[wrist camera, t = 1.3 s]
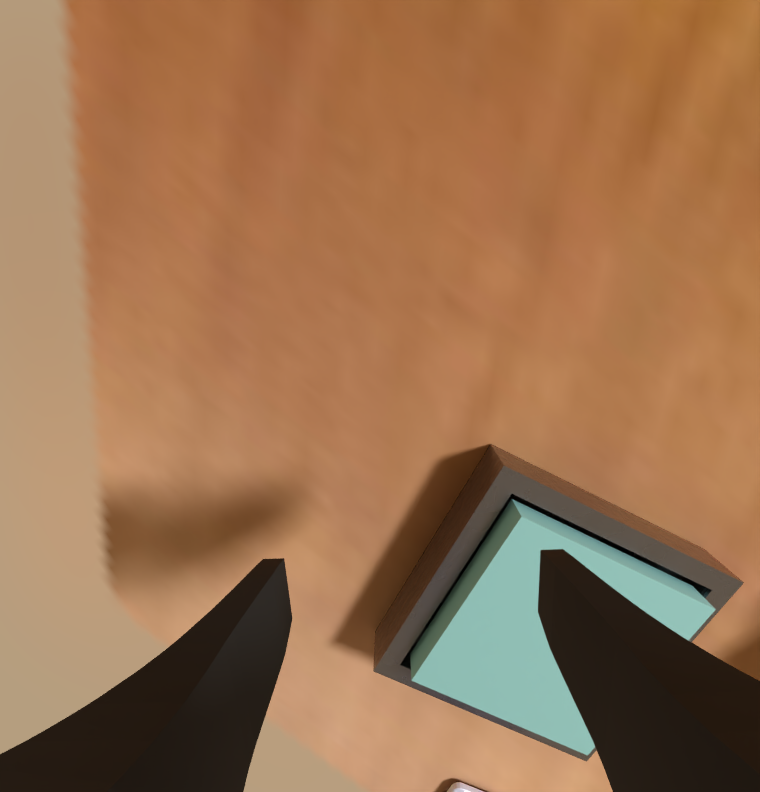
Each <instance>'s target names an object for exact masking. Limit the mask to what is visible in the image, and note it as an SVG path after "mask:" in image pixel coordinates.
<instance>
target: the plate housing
mask: <svg viewBox="0 0 760 792" xmlns="http://www.w3.org/2000/svg"><path fill="white" fill-rule="evenodd" d="M511 499H513V500H515V501H517V502H519V503H521V504H523V505H525V506H528V507H530V508H532V509H534V510H536V511H538V512H540V513H542V514H544V515H546V516H548V517H550V518H552V519H555V520H557V521H559V522H561V523H563V524H565V525H567V526H569V527H571V528H573V529H575V530H577V531H579V532H582V533H584V534H586V535H588V536H590V537H592V538H594V539H596V540H598V541H600V542H602V543H604V544H606V545H609V546H611V547H613V548H615V549H617V550H619V551H621V552H623V553H625V554H627V555H629V556H631V557H633V558H636V559H638V560H640V561H642V562H644V563H646V564H648V565H650V566H652V567H654V568H656V569H658V570H661V571H663V572H665V573H667V574H669V575H671V576H673V577H675V578H677V579H679V580H681V581H683V582H685V583H688V584H690V585H692V586H693V587H694V588H695V589H696V590H697V591H698V592H699V593H700V594H701V595H702V596H703V597H704V598H705V599H706V600H707V601H708V602H709V603H710V604H711V605H712V606H713V607H714V608H715V609H716V610H715V611H714V612H713V613H712V614H711V616H710V617H709V618H708V619H707V620H706V621H705V622H704V623H703V625H702V626H701V627H700V628H699V629H698V630H697V631H696V633H695V634H694V635H693V636H692V637H691V638H690V639H689V641H690V642H692V641H693V640H694V639H695V638H696V637H697V635H698V634H699V633H700V632H701V631H702V630H703V629H704V627H705V626H706V625H707V624H708V623H709V622H710V621H711V619H712V618H713V617H714V616H715V615H716V614H717V613H718V612H719V610H720V609H721V608H722V607H723V606H724V605H725V604H726V602H727V601H728V600H729V599H730V598H731V597H732V596H733V594H734V593H735V592H736V591H737V590H738V589H739V588H740V587H741V585H742V584H743V583H744V582H742V581H741V580H740V579H739V578H738V577H737V576H735V575H734V574H733V573H732V572H731V571H729V570H728V569H727V568H726V567H725V566H724V565H722V564H721V563H720V562H719V561H718V560H716V559H715V558H714V557H713V556H712V555H711V554H709V553H708V552H707V551H706V550H705V549H703V548H701V547H699V546H697V545H695V544H693V543H690V542H688V541H686V540H684V539H682V538H680V537H678V536H676V535H674V534H672V533H670V532H668V531H666V530H664V529H662V528H660V527H658V526H656V525H654V524H652V523H650V522H648V521H646V520H644V519H642V518H640V517H638V516H636V515H634V514H632V513H630V512H628V511H626V510H623V509H621V508H619V507H617V506H615V505H613V504H611V503H609V502H607V501H605V500H603V499H601V498H599V497H597V496H595V495H593V494H591V493H589V492H587V491H585V490H583V489H581V488H579V487H577V486H575V485H573V484H571V483H569V482H567V481H565V480H563V479H561V478H558V477H556V476H554V475H552V474H550V473H548V472H546V471H544V470H542V469H540V468H538V467H536V466H534V465H532V464H530V463H528V462H526V461H524V460H522V459H520V458H518V457H516V456H514V455H512V454H510V453H508V452H506V451H504V450H502V449H500V448H498V447H496V446H494V445H490V446H489V448H488V449H487V451H486V453H485V454H484V456H483V458H482V459H481V461H480V462H479V464H478V466H477V467H476V469H475V471H474V472H473V474H472V475H471V477H470V479H469V480H468V482H467V484H466V485H465V487H464V488H463V490H462V492H461V493H460V495H459V497H458V498H457V500H456V501H455V503H454V505H453V506H452V508H451V510H450V511H449V513H448V514H447V516H446V518H445V519H444V521H443V523H442V524H441V526H440V527H439V529H438V531H437V532H436V534H435V536H434V537H433V539H432V540H431V542H430V544H429V545H428V547H427V549H426V550H425V552H424V553H423V555H422V557H421V558H420V560H419V562H418V563H417V565H416V566H415V568H414V570H413V571H412V573H411V575H410V576H409V578H408V579H407V581H406V583H405V584H404V586H403V588H402V589H401V591H400V592H399V594H398V596H397V597H396V599H395V601H394V602H393V604H392V605H391V607H390V609H389V610H388V612H387V614H386V615H385V617H384V618H383V620H382V622H381V623H380V625H379V627H378V628H377V630H376V631H375V650H374V670H373V671H374V672H377V673H379V674H381V675H384V676H386V677H388V678H391V679H393V680H395V681H398V682H400V683H403V684H405V685H407V686H410V687H412V688H414V689H417V690H419V691H421V692H424V693H426V694H429V695H431V696H433V697H436V698H438V699H440V700H443V701H445V702H447V703H450V704H452V705H455V706H457V707H459V708H462V709H464V710H466V711H469V712H471V713H473V714H476V715H478V716H481V717H483V718H485V719H488V720H490V721H492V722H495V723H497V724H499V725H502V726H504V727H506V728H509V729H511V730H514V731H516V732H518V733H521V734H523V735H525V736H528V737H530V738H532V739H535V740H537V741H540V742H542V743H544V744H547V745H549V746H551V747H554V748H556V749H558V750H561V751H563V752H566V753H568V754H570V755H573V756H575V757H577V758H580V759H582V760H584V761H587V760H588V759H589V758H590V757H591V756H592V755H593V753H594V752H595V751H596V750H597V749H596V747H595V748H594V749H593V750H592V751H591V752H590V753H589V755H585V754H583V753H581V752H578V751H576V750H574V749H571V748H569V747H567V746H564V745H562V744H559V743H557V742H555V741H552V740H550V739H548V738H545V737H543V736H541V735H538V734H536V733H534V732H531V731H529V730H527V729H524V728H522V727H519V726H517V725H515V724H512V723H510V722H508V721H505V720H503V719H501V718H498V717H496V716H494V715H491V714H489V713H487V712H484V711H482V710H479V709H477V708H475V707H472V706H470V705H468V704H465V703H463V702H461V701H458V700H456V699H454V698H451V697H449V696H447V695H444V694H442V693H439V692H437V691H435V690H432V689H430V688H428V687H425V686H423V685H421V684H418V683H416V682H414V681H411V661H410V653H411V652H412V650H413V649H414V647H415V646H416V644H417V643H418V641H419V640H420V638H421V637H422V635H423V633H424V632H425V630H426V629H427V627H428V626H429V624H430V623H431V621H432V620H433V618H434V617H435V615H436V614H437V612H438V611H439V609H440V608H441V606H442V604H443V603H444V601H445V600H446V598H447V597H448V595H449V594H450V592H451V591H452V589H453V588H454V586H455V585H456V583H457V582H458V580H459V579H460V577H461V575H462V574H463V572H464V571H465V569H466V568H467V566H468V565H469V563H470V562H471V560H472V559H473V557H474V556H475V554H476V553H477V551H478V550H479V548H480V547H481V545H482V543H483V542H484V540H485V539H486V537H487V536H488V534H489V533H490V531H491V530H492V528H493V527H494V525H495V524H496V522H497V521H498V519H499V518H500V516H501V514H502V513H503V511H504V510H505V508H506V507H507V505H508V504H509V502H510V501H511Z"/></svg>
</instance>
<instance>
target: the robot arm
mask: <svg viewBox="0 0 760 792" xmlns="http://www.w3.org/2000/svg"><path fill="white" fill-rule="evenodd" d="M538 614H539V617H540V620H541V623H542V626H543V629H544V633H545V635H546V638H547V641H548V644H549V647H550V650H551V652H552V654H553V656H554V659H555V661H556V663H557V665H558V667H559V670H560V672H561V674H562V676H563V678H564V680H565V683H566V685H567V687H568V689H569V691H570V693H571V695H572V697H573V700H574V702H575V704H576V706H577V708H578V710H579V712H580V715H581V717H582V719H583V721H584V723H585V725H586V727H587V729H588V732H589V734H590V736H591V738H592V740H593V742H594V745H595V747H596V749H597V752H598V754H599V756H600V759H601V761H602V763H603V766H604V769H605V771H606V774H607V777H608V779H609V782H610V785H611V787H612V790H613V792H760V681H758V680H757V679H755V678H753V677H751V676H749V675H747V674H745V673H743V672H741V671H740V670H738V669H736V668H734V667H732V666H731V665H729V664H727V663H725V662H723V661H722V660H720V659H718V658H716V657H715V656H713V655H711V654H710V653H708V652H706V651H705V650H703V649H701V648H700V647H698V646H696V645H695V644H693V643H692V642H690V641H688V640H687V639H685V638H683V637H682V636H680V635H679V634H677V633H676V632H674V631H672V630H671V629H669V628H668V627H667V626H665V625H664V624H662V623H661V622H659V621H658V620H656V619H655V618H653V617H652V616H650V615H649V614H648V613H646V612H645V611H643V610H642V609H640V608H639V607H638V606H636V605H635V604H634V603H632V602H631V601H629V600H628V599H627V598H625V597H624V596H623V595H621V594H620V593H619V592H617V591H616V590H615V589H613V588H612V587H611V586H610V585H608V584H607V583H606V582H604V581H603V580H602V579H601V578H599V577H598V576H597V575H596V574H594V573H593V572H592V571H590V570H589V569H588V568H587V567H585V566H584V565H583V564H582V563H580V562H579V561H578V560H577V559H575V558H574V557H573V556H571V555H570V554H569V553H568V552H566V551H565V550H563V549H552V550H541V551H540V573H539V595H538ZM291 622H292V613H291V605H290V598H289V591H288V584H287V576H286V569H285V562H284V558H283V559H263V560H262V561H261V562H260V563H259V564H258V565H256V566H255V567H254V568H253V569H252V570H251V572H250V573H249V574H248V575H247V576H246V577H245V578H244V579H243V580H242V581H241V582H240V583H239V584H238V585H237V586H236V587H235V588H234V589H233V590H232V591H231V592H230V593H229V594H227V595H226V596H225V597H224V598H223V599H222V600H221V601H220V602H219V603H218V604H217V605H216V606H215V607H214V608H213V609H212V610H211V611H210V612H209V613H208V614H206V615H205V616H204V617H203V618H202V619H201V620H200V621H199V622H197V623H196V624H195V625H194V626H193V627H192V628H191V629H190V630H189V631H187V632H186V633H185V634H184V635H183V636H182V637H181V638H179V639H178V640H177V641H176V642H175V643H173V644H172V645H171V646H170V647H168V648H167V649H166V650H165V651H163V652H162V653H161V654H160V655H158V656H157V657H156V658H154V659H153V660H152V661H150V662H149V663H148V664H146V665H145V666H144V667H143V668H141V669H140V670H138V671H137V672H136V673H134V674H133V675H131V676H130V677H128V678H127V679H125V680H124V681H122V682H121V683H119V684H118V685H117V686H115V687H114V688H112V689H111V690H109V691H108V692H107V693H105V694H103V695H102V696H100V697H99V698H98V699H96V700H94V701H93V702H91V703H90V704H88V705H87V706H85V707H83V708H82V709H80V710H78V711H77V712H75V713H74V714H72V715H70V716H69V717H67V718H65V719H64V720H62V721H60V722H58V723H57V724H55V725H53V726H51V727H50V728H48V729H46V730H45V731H43V732H41V733H39V734H38V735H36V736H34V737H32V738H31V739H29V740H27V741H25V742H23V743H21V744H19V745H17V746H16V747H14V748H12V749H10V750H8V751H6V752H4V753H2V754H0V792H243V790H244V786H245V782H246V778H247V774H248V770H249V766H250V763H251V759H252V756H253V752H254V749H255V745H256V742H257V739H258V736H259V733H260V730H261V727H262V724H263V721H264V718H265V715H266V712H267V709H268V706H269V703H270V700H271V697H272V694H273V691H274V688H275V684H276V681H277V678H278V675H279V672H280V669H281V666H282V663H283V659H284V656H285V652H286V647H287V642H288V638H289V633H290V627H291ZM447 792H484V791H481V790H479V789H476V788H474V787H471V786H469V785H466V784H464V783H461V782H456V783H454V784H452V785H451V787H450V788H449V789H448V791H447Z"/></svg>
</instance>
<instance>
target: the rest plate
mask: <svg viewBox="0 0 760 792" xmlns="http://www.w3.org/2000/svg"><path fill="white" fill-rule="evenodd" d="M552 549H563V550H565V551H566V552H568V553H569V554H570V555H571V556H573V557H574V558H575V559H577V560H578V561H579V562H580V563H582V564H583V565H584V566H585V567H587V568H588V569H589V570H590V571H592V572H593V573H594V574H596V575H597V576H598V577H599V578H601V579H602V580H603V581H604V582H606V583H607V584H608V585H610V586H611V587H612V588H613V589H615V590H616V591H617V592H619V593H620V594H621V595H623V596H624V597H625V598H627V599H628V600H629V601H631V602H632V603H634V604H635V605H636V606H638V607H639V608H640V609H642V610H643V611H645V612H646V613H648V614H649V615H650V616H652V617H653V618H655V619H656V620H658V621H659V622H661V623H662V624H664V625H665V626H667V627H668V628H669V629H671V630H672V631H674V632H676V633H677V634H679V635H680V636H682V637H683V638H685V639H687V640H688V641H689V639H690V638H691V637H692V636H693V635H694V634H695V633H696V631H697V630H698V629H699V628H700V627H701V626H702V625H703V623H704V622H705V621H706V620H707V619H708V618H709V617H710V616H711V614H712V613H713V612H714V611H715V610H716V609H715V608H714V607H713V606H712V605H711V604H710V603H709V602H708V601H707V600H706V599H705V598H704V597H703V596H702V595H701V594H700V593H699V592H698V591H697V590H696V589H695V588H694V587H693V586H692V585H690V584H688V583H685V582H683V581H681V580H679V579H677V578H675V577H673V576H671V575H669V574H667V573H665V572H663V571H661V570H658V569H656V568H654V567H652V566H650V565H648V564H646V563H644V562H642V561H640V560H638V559H636V558H633V557H631V556H629V555H627V554H625V553H623V552H621V551H619V550H617V549H615V548H613V547H611V546H609V545H606V544H604V543H602V542H600V541H598V540H596V539H594V538H592V537H590V536H588V535H586V534H584V533H582V532H579V531H577V530H575V529H573V528H571V527H569V526H567V525H565V524H563V523H561V522H559V521H557V520H555V519H552V518H550V517H548V516H546V515H544V514H542V513H540V512H538V511H536V510H534V509H532V508H530V507H528V506H525V505H523V504H521V503H519V502H517V501H515V500H513V499H511V501H510V502H509V504H508V505H507V507H506V508H505V510H504V511H503V513H502V514H501V516H500V518H499V519H498V521H497V522H496V524H495V525H494V527H493V528H492V530H491V531H490V533H489V534H488V536H487V537H486V539H485V540H484V542H483V543H482V545H481V547H480V548H479V550H478V551H477V553H476V554H475V556H474V557H473V559H472V560H471V562H470V563H469V565H468V566H467V568H466V569H465V571H464V572H463V574H462V575H461V577H460V579H459V580H458V582H457V583H456V585H455V586H454V588H453V589H452V591H451V592H450V594H449V595H448V597H447V598H446V600H445V601H444V603H443V604H442V606H441V608H440V609H439V611H438V612H437V614H436V615H435V617H434V618H433V620H432V621H431V623H430V624H429V626H428V627H427V629H426V630H425V632H424V633H423V635H422V637H421V638H420V640H419V641H418V643H417V644H416V646H415V647H414V649H413V650H412V652H411V653H410V661H411V681H414V682H416V683H418V684H421V685H423V686H425V687H428V688H430V689H432V690H435V691H437V692H439V693H442V694H444V695H447V696H449V697H451V698H454V699H456V700H458V701H461V702H463V703H465V704H468V705H470V706H472V707H475V708H477V709H479V710H482V711H484V712H487V713H489V714H491V715H494V716H496V717H498V718H501V719H503V720H505V721H508V722H510V723H512V724H515V725H517V726H519V727H522V728H524V729H527V730H529V731H531V732H534V733H536V734H538V735H541V736H543V737H545V738H548V739H550V740H552V741H555V742H557V743H559V744H562V745H564V746H567V747H569V748H571V749H574V750H576V751H578V752H581V753H583V754H585V755H589V753H590V752H591V751H592V750H593V749H594V748H595V745H594V742H593V740H592V738H591V736H590V734H589V732H588V729H587V727H586V725H585V723H584V721H583V719H582V717H581V715H580V712H579V710H578V708H577V706H576V704H575V702H574V700H573V697H572V695H571V693H570V691H569V689H568V687H567V685H566V683H565V680H564V678H563V676H562V674H561V672H560V670H559V667H558V665H557V663H556V661H555V659H554V656H553V654H552V652H551V650H550V647H549V644H548V641H547V638H546V635H545V633H544V629H543V626H542V623H541V620H540V617H539V614H538V595H539V573H540V551H541V550H552Z"/></svg>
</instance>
